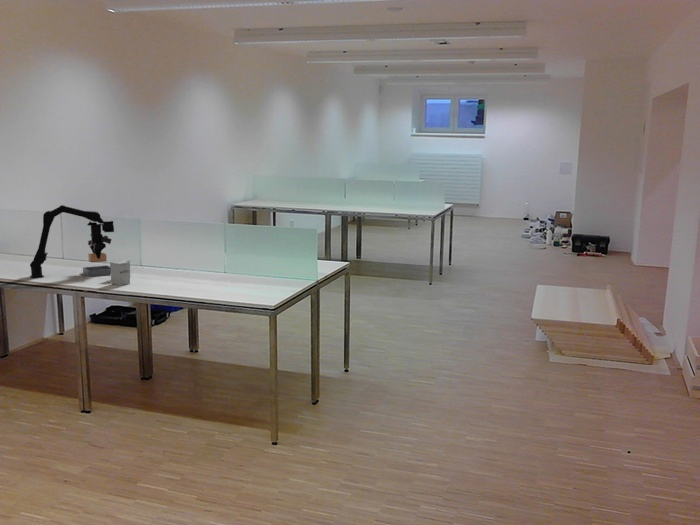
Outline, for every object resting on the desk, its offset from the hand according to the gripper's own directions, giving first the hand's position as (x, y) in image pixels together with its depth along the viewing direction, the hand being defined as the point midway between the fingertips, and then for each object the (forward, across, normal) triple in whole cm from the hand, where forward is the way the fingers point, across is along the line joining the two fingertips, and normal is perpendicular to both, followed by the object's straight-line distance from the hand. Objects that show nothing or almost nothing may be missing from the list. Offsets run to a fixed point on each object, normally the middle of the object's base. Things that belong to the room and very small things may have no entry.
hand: (97, 258), depth 382 cm
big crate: (+10, 0, 0) cm, 10 cm away
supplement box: (+10, -39, -3) cm, 40 cm away
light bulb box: (+10, -24, -7) cm, 27 cm away
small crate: (+2, 0, 0) cm, 2 cm away
